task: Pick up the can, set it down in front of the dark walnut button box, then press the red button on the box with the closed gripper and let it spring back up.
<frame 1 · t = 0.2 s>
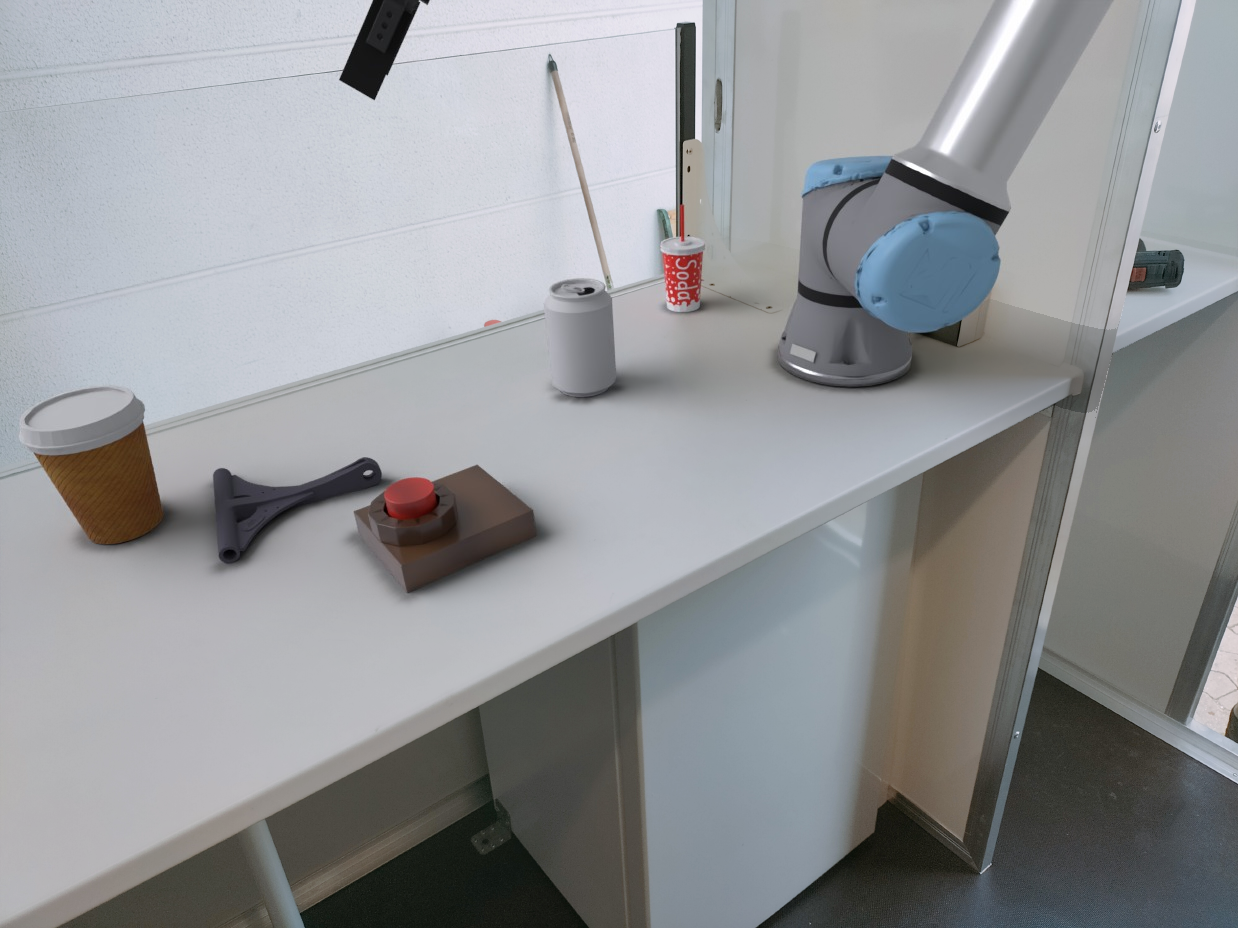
hand: (365, 77, 68), 35 cm above the table, tool tilted 35°, fingers open, 13 cm apart
button box: (447, 536, 74), on the table
can: (584, 387, 98), on the table
button: (410, 498, 70), point 5 cm above the table, slide at 0.1 cm
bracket: (303, 503, 80), on the table
beverage cup: (683, 307, 119), on the table
disposable coffee cup: (127, 526, 78), on the table
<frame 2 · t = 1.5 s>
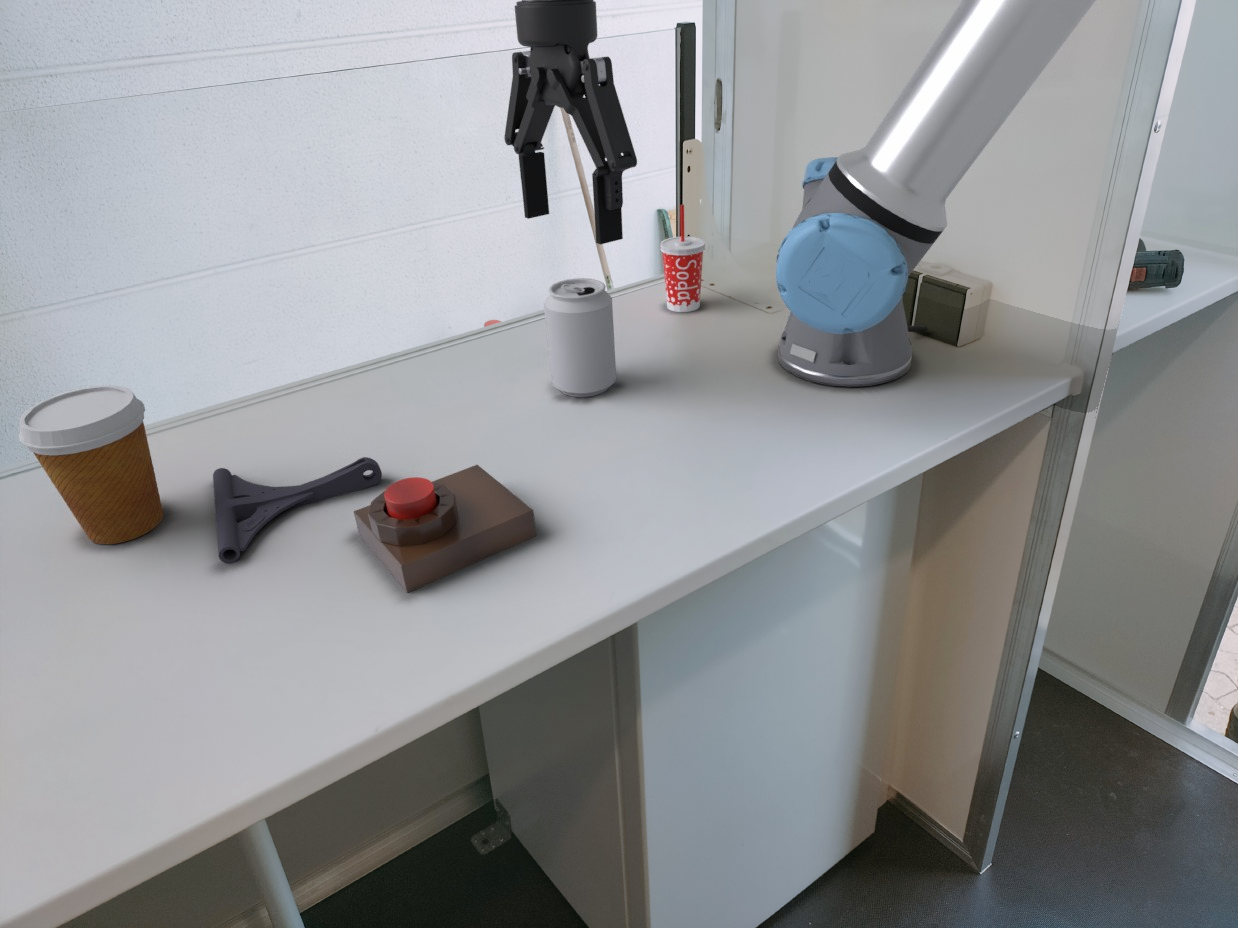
hand: (571, 228, 89), 18 cm above the table, tool pointing down, fingers open, 13 cm apart
nothing on the table moved.
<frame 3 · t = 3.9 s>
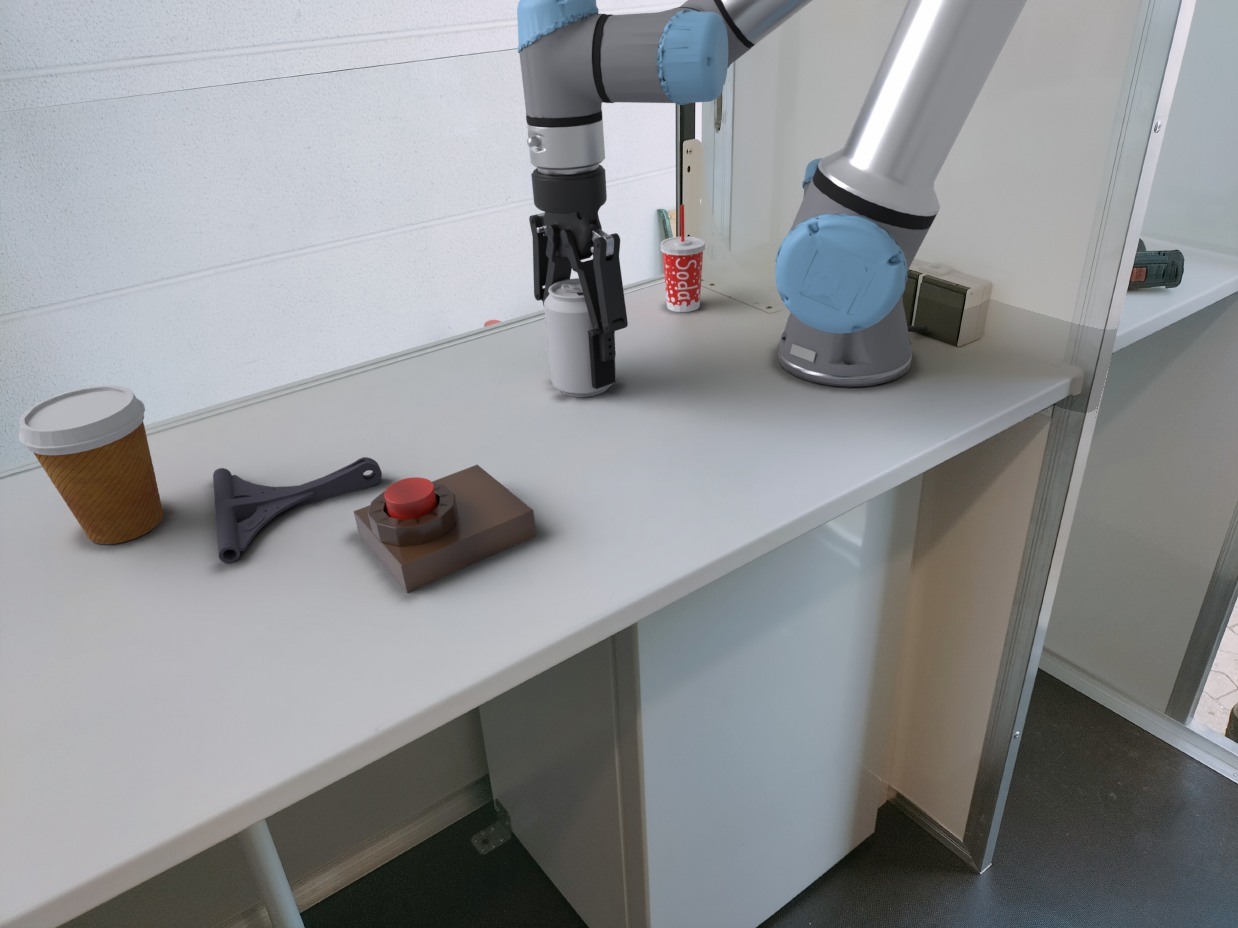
hand: (583, 373, 98), 2 cm above the table, tool pointing down, fingers closed on can, 7 cm apart
can: (584, 387, 98), on the table, touching gripper
everything else where it was.
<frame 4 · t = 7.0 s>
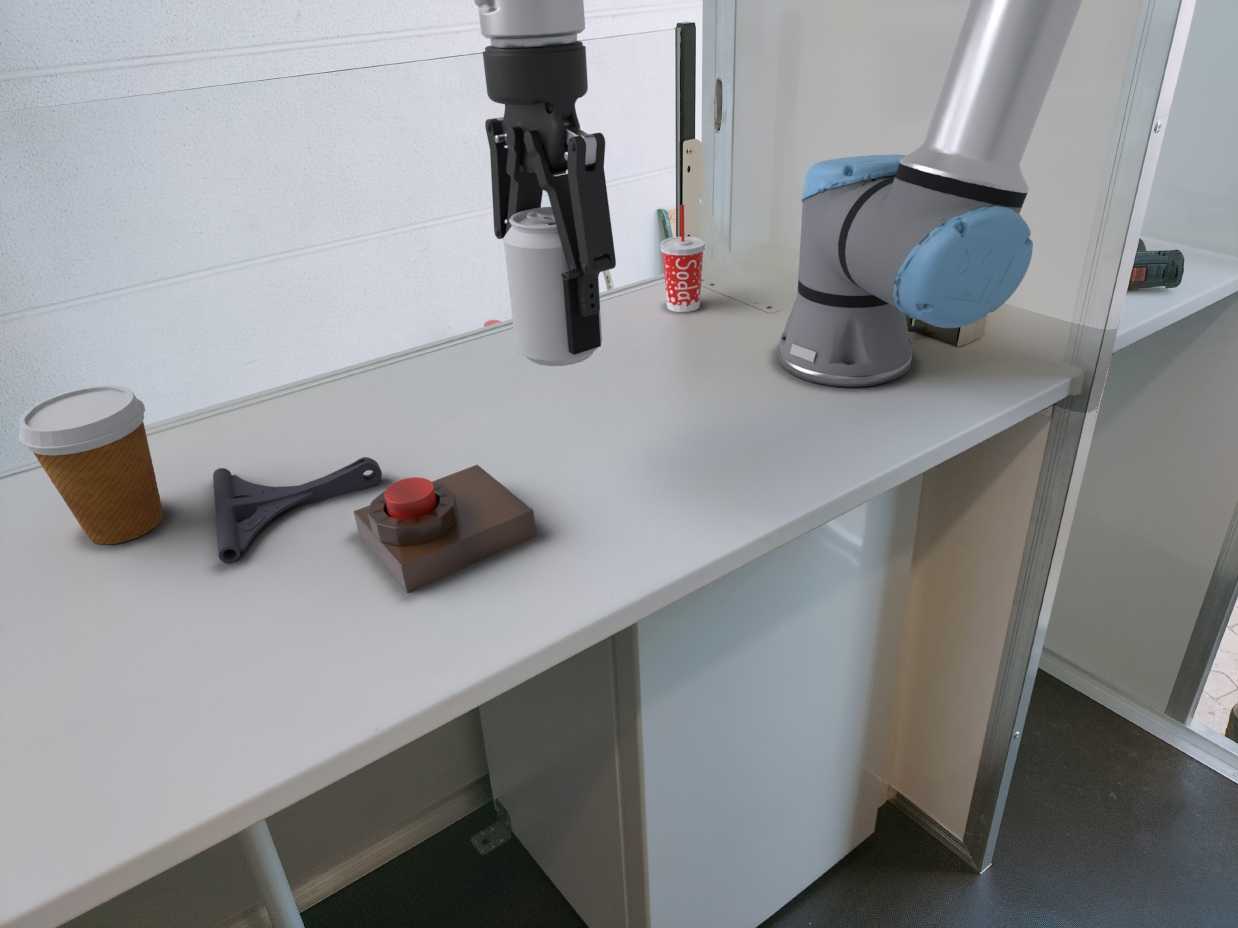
hand: (558, 335, 73), 15 cm above the table, tool pointing down, fingers closed on can, 7 cm apart
can: (559, 354, 74), point 13 cm above the table, touching gripper
everything else where it was.
when the fingers open (2 cm above the table, at t = 10.3 s): can stays where it is, on the table.
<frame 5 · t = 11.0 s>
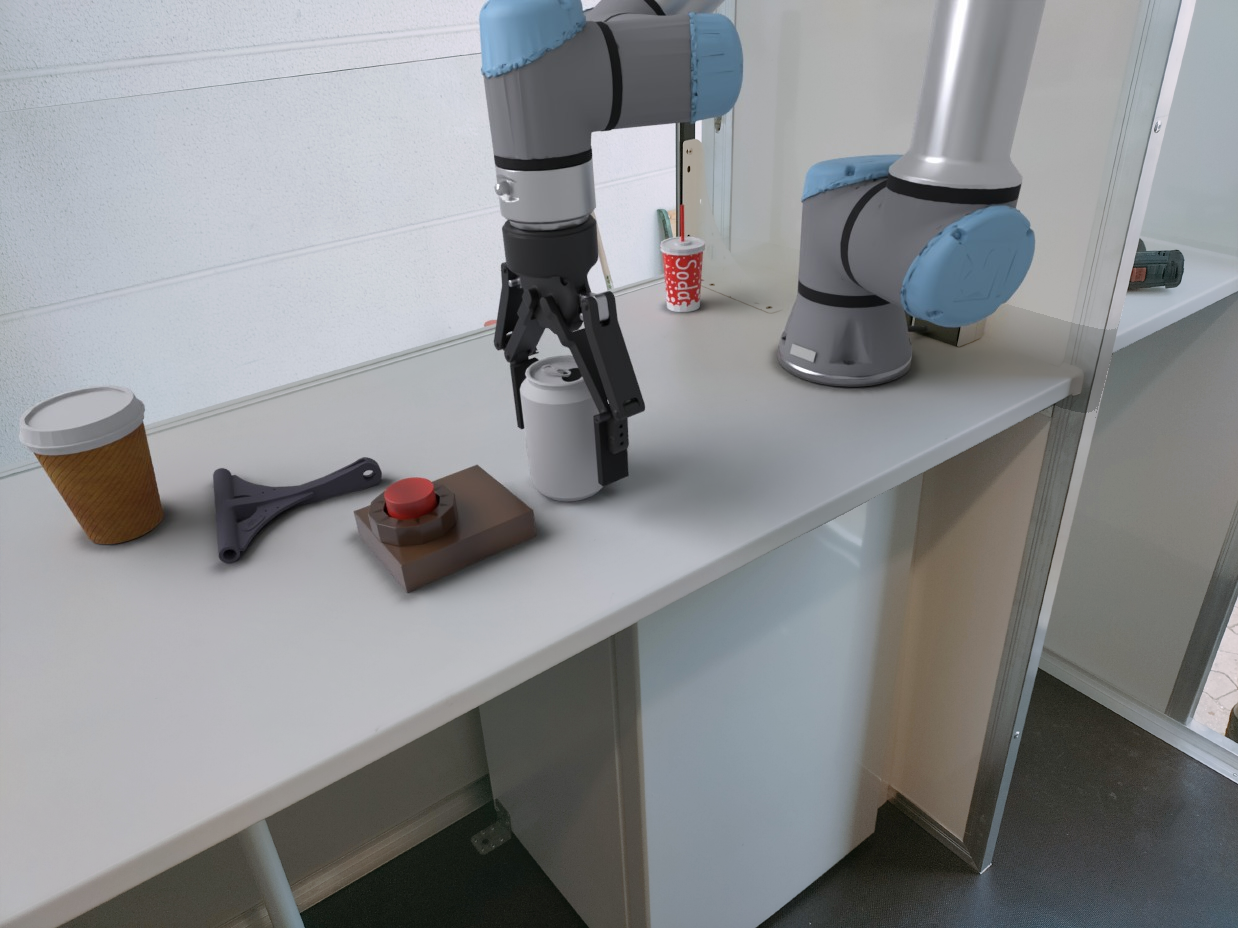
hand: (570, 450, 78), 4 cm above the table, tool pointing down, fingers open, 13 cm apart
can: (571, 486, 80), on the table
everything else where it was.
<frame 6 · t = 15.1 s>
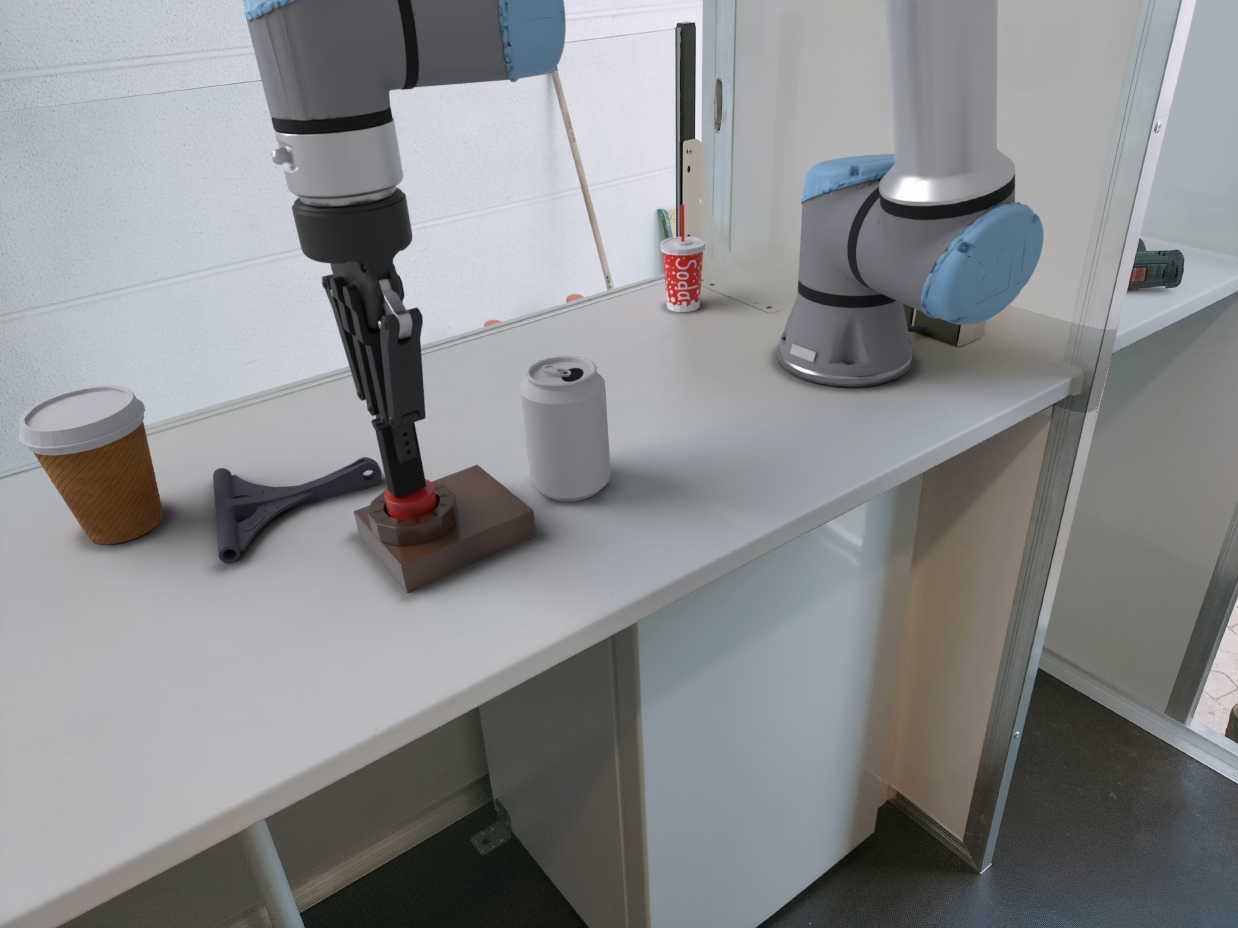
hand: (407, 488, 69), 6 cm above the table, tool pointing down, fingers closed
button: (411, 499, 70), point 5 cm above the table, slide at 0.0 cm, touching gripper
everything else where it was.
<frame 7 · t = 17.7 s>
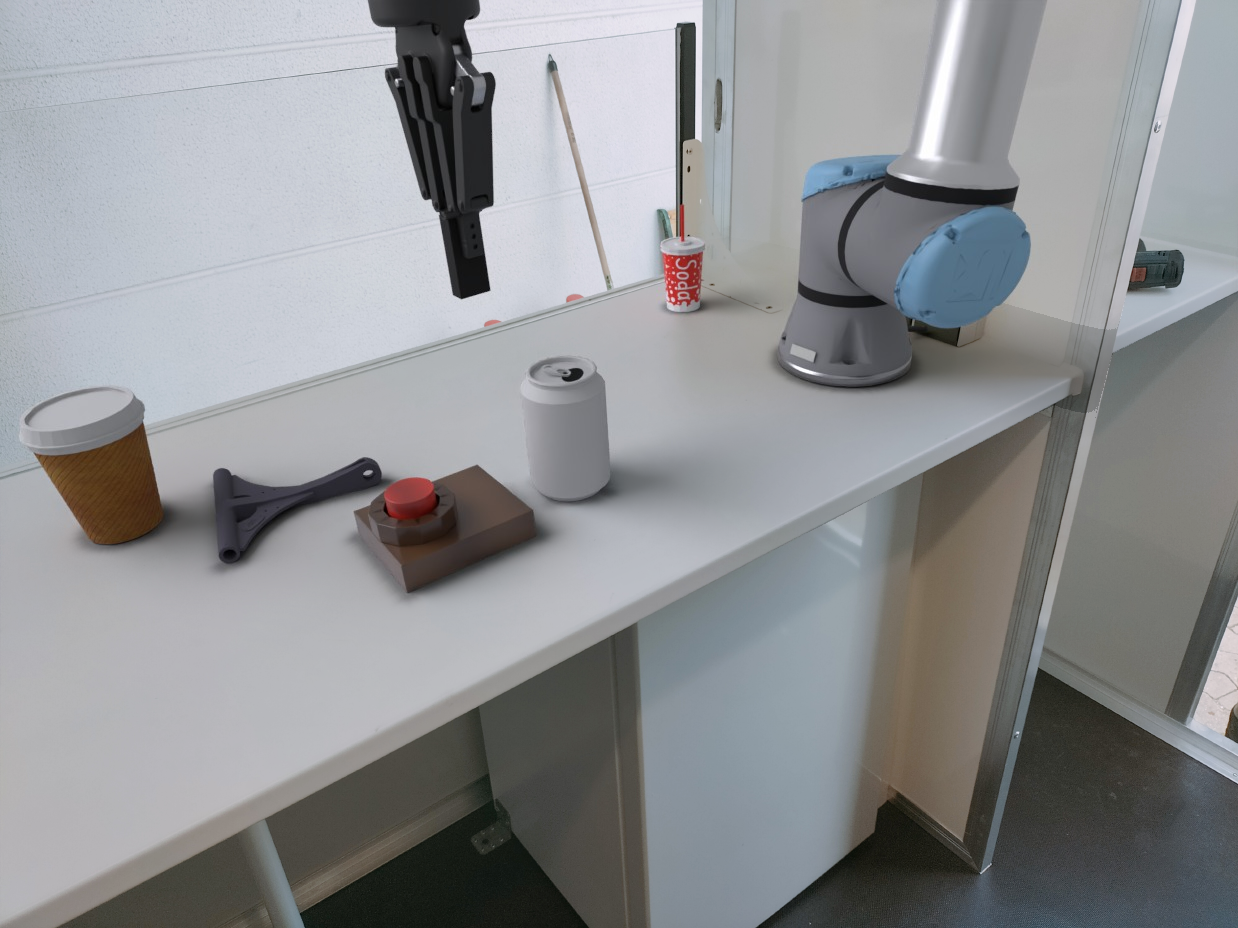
hand: (471, 292, 69), 19 cm above the table, tool pointing down, fingers closed
button: (410, 498, 70), point 5 cm above the table, slide at 0.1 cm
everything else where it was.
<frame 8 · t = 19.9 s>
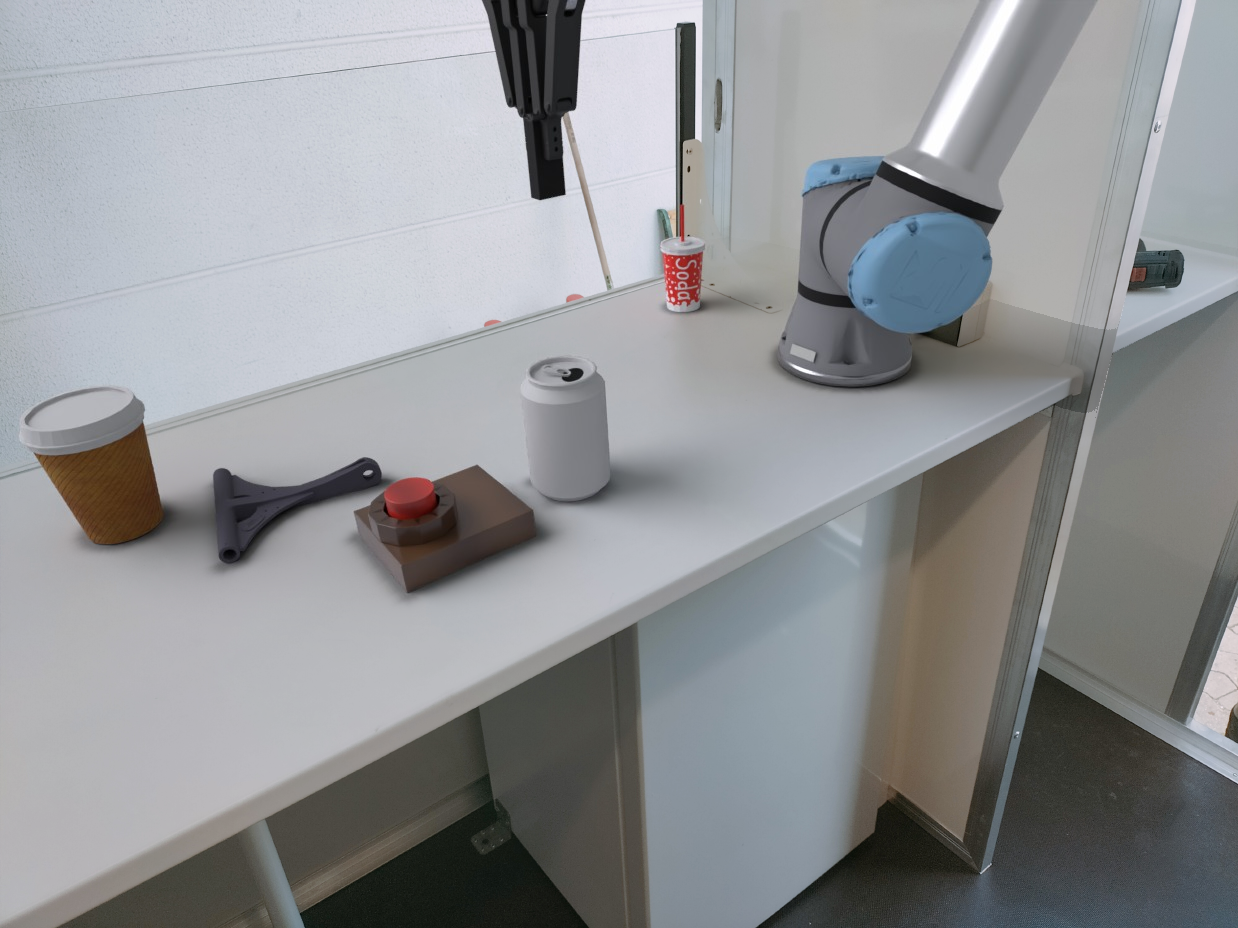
hand: (548, 196, 76), 24 cm above the table, tool pointing down, fingers closed
nothing on the table moved.
at the end: button pushed in 1.0 cm at the most during the clip, back to where it started at the end; button slide at 0.1 cm; can inside the target area on the table beside the button box (0.1 cm from its centre), on the table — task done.
